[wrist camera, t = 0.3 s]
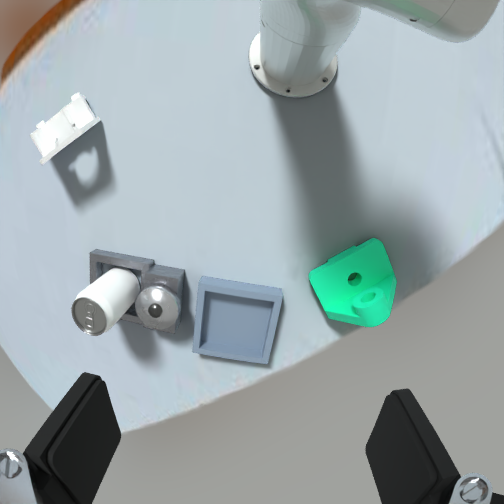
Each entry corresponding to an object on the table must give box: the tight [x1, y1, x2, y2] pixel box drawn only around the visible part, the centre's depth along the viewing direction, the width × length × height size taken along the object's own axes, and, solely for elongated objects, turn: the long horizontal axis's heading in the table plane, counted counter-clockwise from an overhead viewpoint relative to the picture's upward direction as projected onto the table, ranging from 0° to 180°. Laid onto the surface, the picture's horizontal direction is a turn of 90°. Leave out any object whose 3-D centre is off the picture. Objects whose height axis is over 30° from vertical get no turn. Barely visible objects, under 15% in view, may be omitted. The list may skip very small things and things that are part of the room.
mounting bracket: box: [30, 92, 101, 165], centre depth 36 cm, size 12×6×11 cm, turn 113°
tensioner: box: [90, 249, 185, 334], centre depth 43 cm, size 10×16×6 cm, turn 81°
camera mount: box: [309, 238, 397, 327], centre depth 40 cm, size 12×8×10 cm, turn 119°
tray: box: [192, 276, 283, 364], centre depth 46 cm, size 12×12×3 cm
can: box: [72, 267, 140, 336], centre depth 40 cm, size 6×6×12 cm
